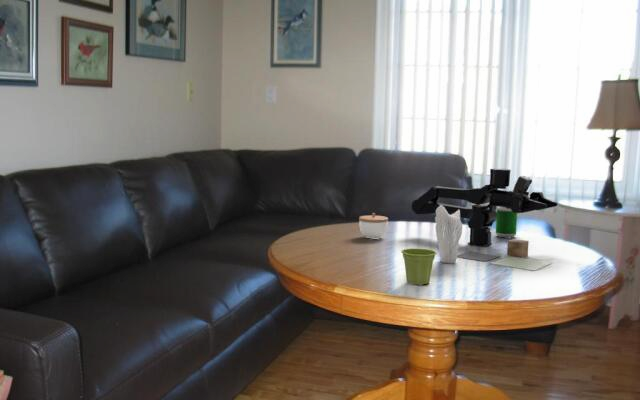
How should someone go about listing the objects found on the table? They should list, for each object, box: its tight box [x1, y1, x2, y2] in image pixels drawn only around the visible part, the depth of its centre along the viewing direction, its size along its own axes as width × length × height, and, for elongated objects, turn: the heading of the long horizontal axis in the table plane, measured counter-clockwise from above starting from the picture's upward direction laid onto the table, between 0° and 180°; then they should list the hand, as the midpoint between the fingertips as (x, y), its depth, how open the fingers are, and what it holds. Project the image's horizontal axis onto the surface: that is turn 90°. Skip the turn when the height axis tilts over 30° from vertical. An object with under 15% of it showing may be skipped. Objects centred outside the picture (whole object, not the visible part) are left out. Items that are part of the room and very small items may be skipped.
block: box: [506, 238, 530, 258], centre depth 218 cm, size 5×5×5 cm
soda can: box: [495, 206, 518, 239], centre depth 252 cm, size 8×8×12 cm
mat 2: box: [490, 256, 553, 272], centre depth 206 cm, size 14×14×1 cm
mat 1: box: [457, 250, 501, 263], centre depth 215 cm, size 11×11×1 cm
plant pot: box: [400, 247, 437, 286], centre depth 179 cm, size 9×9×9 cm
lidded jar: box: [358, 212, 389, 238], centre depth 246 cm, size 11×11×9 cm
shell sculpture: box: [434, 205, 463, 264], centre depth 205 cm, size 8×8×18 cm
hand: (551, 205), depth 218 cm, fingers open, 9 cm apart
